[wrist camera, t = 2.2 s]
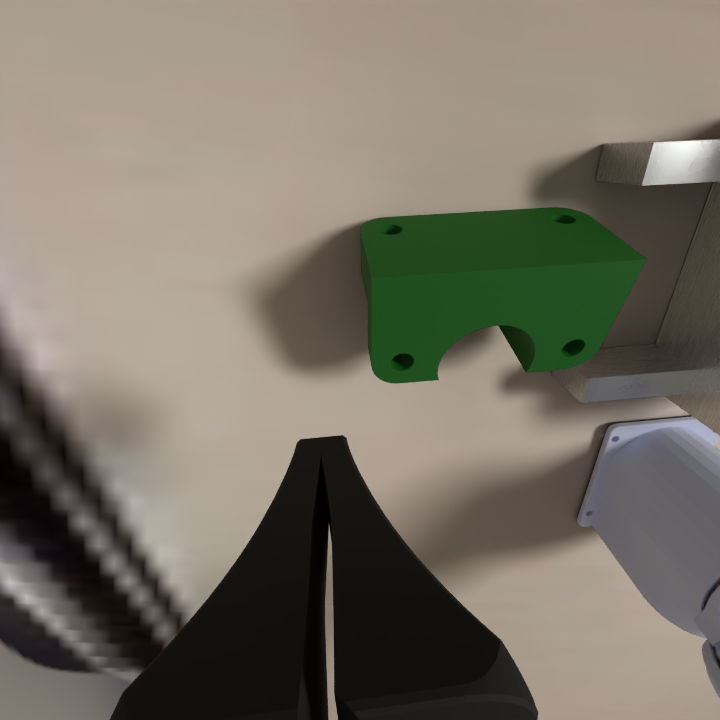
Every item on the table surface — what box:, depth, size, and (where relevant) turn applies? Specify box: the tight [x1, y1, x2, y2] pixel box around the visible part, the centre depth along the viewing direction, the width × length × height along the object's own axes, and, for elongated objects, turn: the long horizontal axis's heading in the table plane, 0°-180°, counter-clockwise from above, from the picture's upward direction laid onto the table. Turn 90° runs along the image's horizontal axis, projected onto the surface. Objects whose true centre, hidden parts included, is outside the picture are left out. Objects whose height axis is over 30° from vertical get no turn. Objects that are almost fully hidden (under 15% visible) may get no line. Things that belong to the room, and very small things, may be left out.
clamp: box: [361, 208, 647, 383], centre depth 18 cm, size 11×6×8 cm, turn 86°
